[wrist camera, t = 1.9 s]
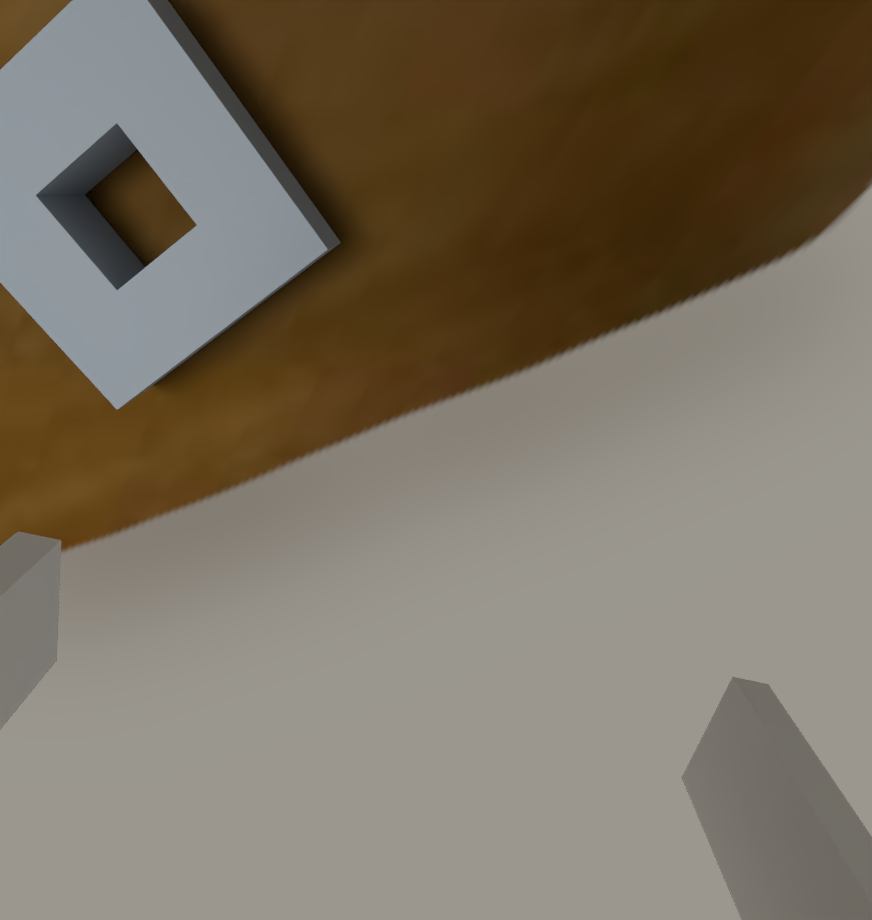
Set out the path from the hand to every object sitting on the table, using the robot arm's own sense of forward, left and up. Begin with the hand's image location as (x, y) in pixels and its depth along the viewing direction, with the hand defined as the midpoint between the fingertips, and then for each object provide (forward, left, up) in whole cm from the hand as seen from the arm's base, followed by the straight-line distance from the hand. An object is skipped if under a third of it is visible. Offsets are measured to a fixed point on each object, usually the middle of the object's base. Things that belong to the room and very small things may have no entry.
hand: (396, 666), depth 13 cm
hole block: (-13, -5, -22) cm, 26 cm away
